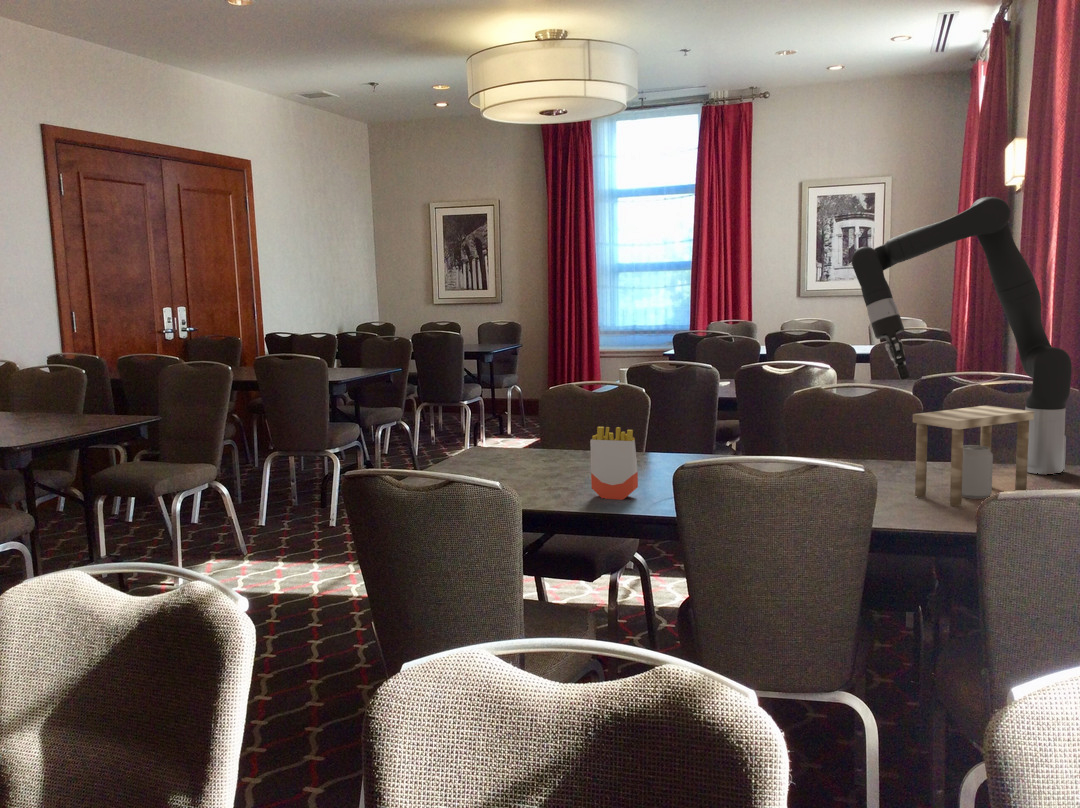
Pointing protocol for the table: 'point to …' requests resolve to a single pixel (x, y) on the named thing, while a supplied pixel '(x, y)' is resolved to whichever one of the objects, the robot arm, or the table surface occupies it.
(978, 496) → the can
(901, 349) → the robot arm
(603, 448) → the french fries container
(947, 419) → the stand
